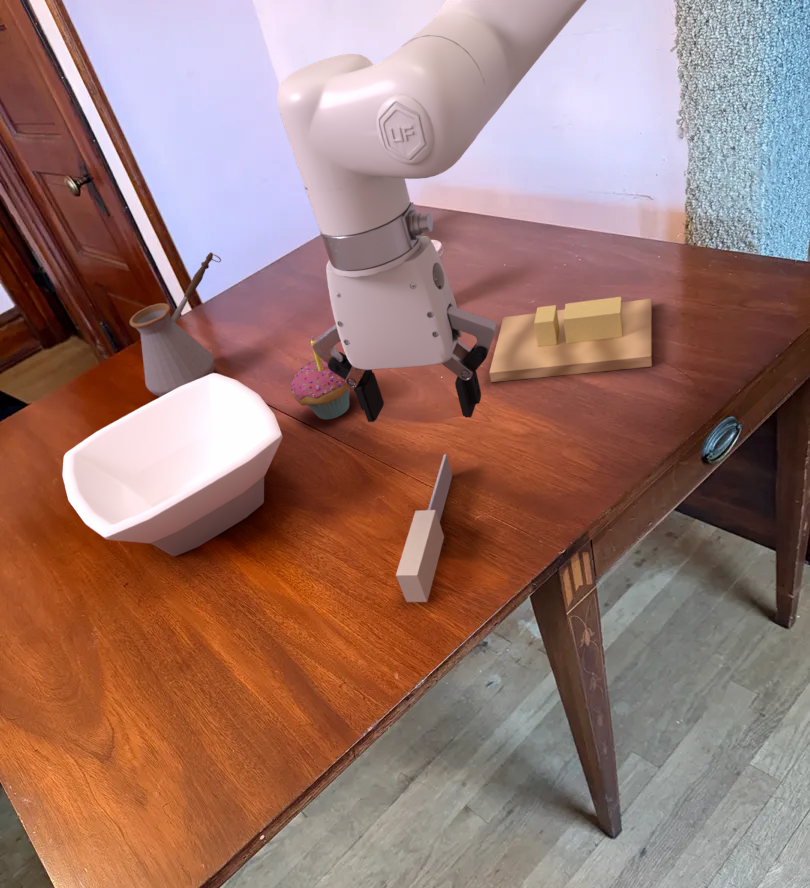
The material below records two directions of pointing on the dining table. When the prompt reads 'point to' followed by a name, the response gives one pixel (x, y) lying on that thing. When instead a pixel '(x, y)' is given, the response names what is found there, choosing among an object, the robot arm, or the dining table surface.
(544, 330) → the butter slice
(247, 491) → the bowl
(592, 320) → the butter
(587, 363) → the board
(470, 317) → the robot arm
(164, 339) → the coffee pot
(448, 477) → the knife
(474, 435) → the dining table surface
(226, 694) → the dining table surface
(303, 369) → the cupcake
